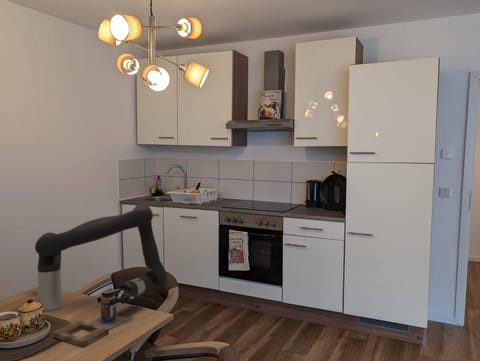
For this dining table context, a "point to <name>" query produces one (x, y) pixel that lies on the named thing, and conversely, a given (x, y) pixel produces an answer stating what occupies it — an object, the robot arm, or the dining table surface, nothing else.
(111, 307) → the supplement bottle
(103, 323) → the charcoal mat
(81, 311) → the dining table surface
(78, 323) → the walnut collar
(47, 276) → the robot arm
